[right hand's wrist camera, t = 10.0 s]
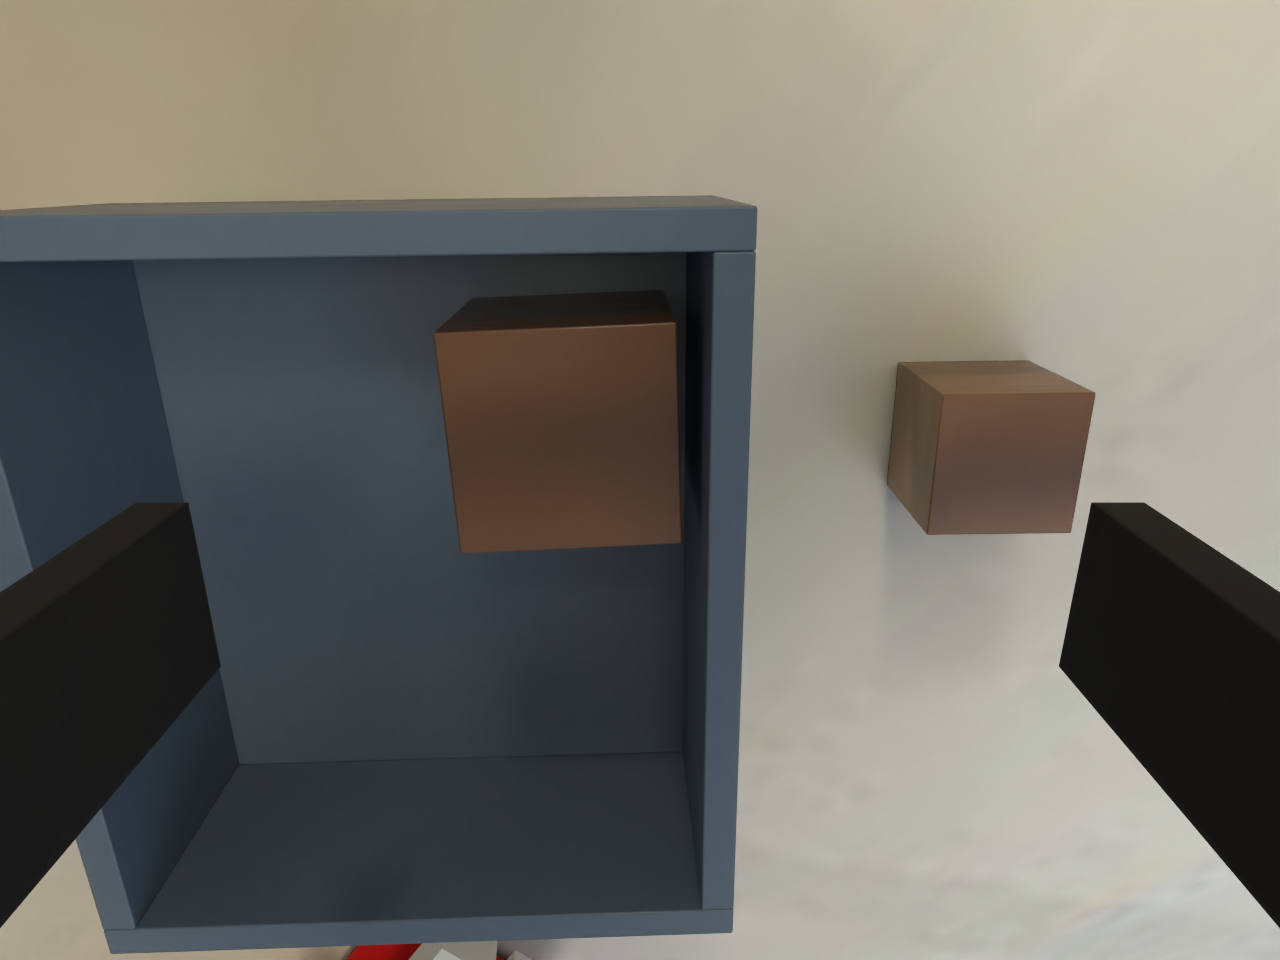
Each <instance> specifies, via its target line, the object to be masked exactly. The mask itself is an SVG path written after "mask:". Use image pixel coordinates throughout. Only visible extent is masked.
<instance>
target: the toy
mask: <svg viewBox="0 0 1280 960" xmlns="http://www.w3.org/2000/svg"><path fill="white" fill-rule="evenodd" d="M497 945H498V941H474V942H444V943H415V944H386V945H357V946H356V948H355V949H354V950H353V952H352V953H351V954H350V956H349V957H348V958H347V959H346V960H504V959H503V958H501V957H499V956H497V955H496V954H497ZM507 960H532V959H530V958H529V957H527V956H525V955H523V954H522V953H520V952H518V951H516V950H515V951H514V952H513V953H512V954H511V956H510V957H509V958H508V959H507Z"/></svg>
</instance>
